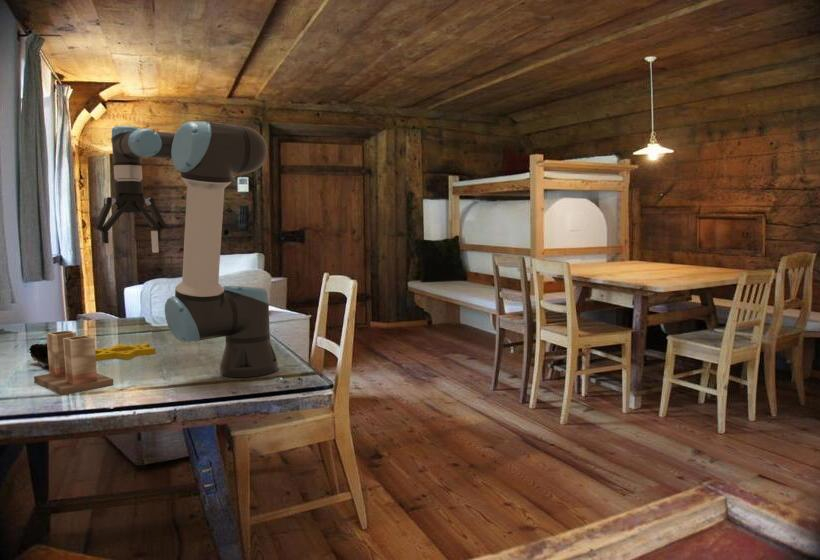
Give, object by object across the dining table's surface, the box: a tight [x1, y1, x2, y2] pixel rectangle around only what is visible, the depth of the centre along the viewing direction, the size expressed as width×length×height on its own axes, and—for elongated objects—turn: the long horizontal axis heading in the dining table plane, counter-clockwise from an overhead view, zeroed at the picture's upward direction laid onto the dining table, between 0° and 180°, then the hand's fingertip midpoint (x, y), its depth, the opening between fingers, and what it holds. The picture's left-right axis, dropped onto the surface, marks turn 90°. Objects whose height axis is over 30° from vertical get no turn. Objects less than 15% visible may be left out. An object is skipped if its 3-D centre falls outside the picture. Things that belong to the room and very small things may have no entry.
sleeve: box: [63, 334, 98, 385], centre depth 158 cm, size 5×5×11 cm
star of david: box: [95, 343, 157, 362], centre depth 198 cm, size 20×17×2 cm
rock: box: [28, 342, 49, 367], centre depth 187 cm, size 18×10×15 cm
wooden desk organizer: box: [33, 330, 114, 396], centre depth 162 cm, size 20×12×12 cm, turn 47°
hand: (133, 253), depth 187 cm, fingers open, 13 cm apart
